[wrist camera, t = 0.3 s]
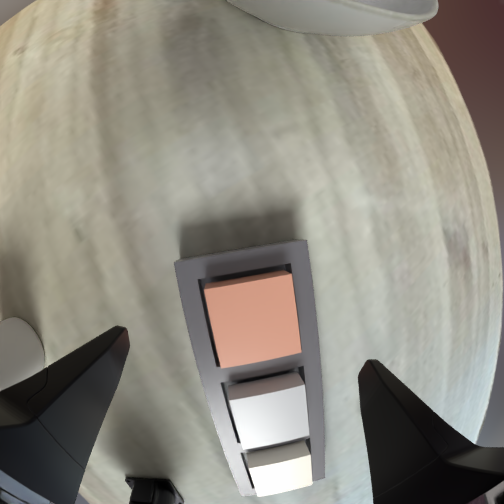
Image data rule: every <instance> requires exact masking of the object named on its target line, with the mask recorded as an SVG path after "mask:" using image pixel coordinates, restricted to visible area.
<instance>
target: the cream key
mask: <svg viewBox="0 0 504 504" xmlns="http://www.w3.org/2000/svg"><path fill="white" fill-rule="evenodd" d="M246 455H247V461H248V467H249V471H250V474H251V477H252V480H253V483H254V486H255V489H256V492H257V495H258V497H261V496H266V495H272V494H277V493H281V492H286V491H290V490H294V489H298V488H302V487H306V486H310V485H312V467H311V454H310V452H309V450H308V448H307V445H306V443H305V441H304V440H303V441H299V442H295V443H291V444H287V445H283V446H279V447H274V448H269V449H264V450H259V451H253V452H248V453H246Z"/></svg>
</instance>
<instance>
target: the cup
mask: <svg viewBox="0 0 504 504" xmlns="http://www.w3.org/2000/svg"><path fill="white" fill-rule="evenodd" d="M44 360H45V355H44V350H43V347H42V344H41V341H40V339H39V337H38V335H37V334H36V332H35V331H34V330H33V328H32V327H31V326H30V325H29V324H28V323H27V322H25V321H24V320H22V319H20V318H17V317H11V318H8V319H5V320H3V321H0V391H1V390H3V389H5V388H8V387H10V386H12V385H14V384H16V383H18V382H21V381H23V380H25V379H27V378H29V377H31V376H32V375H34V374H36V373H38V372H39V371H41V370H43V367H44Z"/></svg>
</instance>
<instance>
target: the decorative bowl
mask: <svg viewBox="0 0 504 504" xmlns="http://www.w3.org/2000/svg"><path fill="white" fill-rule="evenodd" d="M226 1H228V2H229V3H231V4H233V5H234V6H236V7H238V8H239V9H241V10H243V11H245V12H247V13H249V14H251V15H253V16H256V17H257V18H259V19H260V20H262V21H264V22H266V23H268V24H270V25H273V26H275V27H278V28H281V29H285V30H289V31H293V32H299V33H314V34H321V35H330V36H366V35H376V34H383V33H389V32H393V31H397V30H401V29H405V28H409V27H412V26H415V25H417V24H420V23H422V22H425V21H427V20H429V19H431V18H432V17H434V16H435V14H436V13H437V11H438V1H437V0H226Z"/></svg>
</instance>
